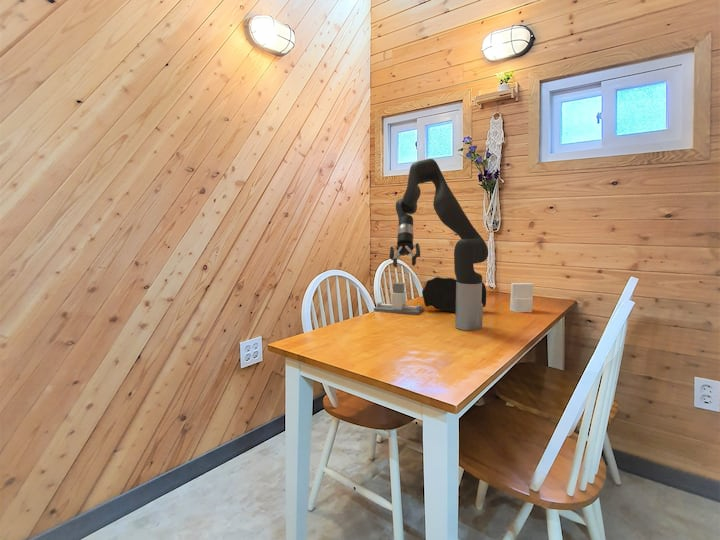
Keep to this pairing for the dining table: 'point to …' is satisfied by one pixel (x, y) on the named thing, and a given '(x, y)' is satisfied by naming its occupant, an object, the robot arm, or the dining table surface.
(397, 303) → the din module
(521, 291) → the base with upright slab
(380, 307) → the rail plate
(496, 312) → the dining table surface
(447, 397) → the dining table surface
